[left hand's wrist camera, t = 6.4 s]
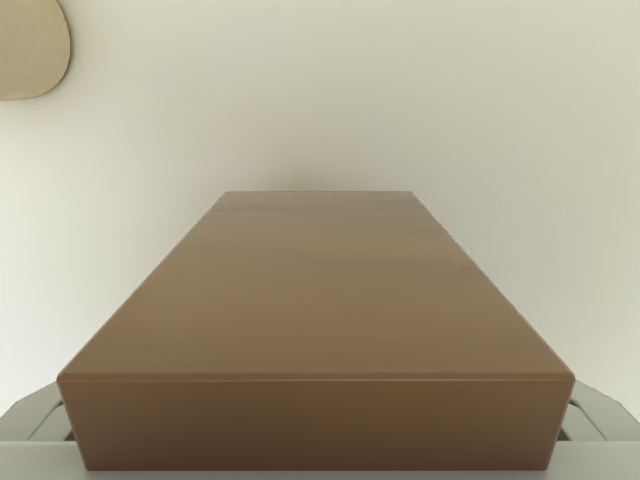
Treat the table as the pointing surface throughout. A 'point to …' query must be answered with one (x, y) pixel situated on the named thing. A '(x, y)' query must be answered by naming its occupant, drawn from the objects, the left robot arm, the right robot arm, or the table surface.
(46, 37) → the candle
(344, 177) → the table surface
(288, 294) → the bar
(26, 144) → the table surface
